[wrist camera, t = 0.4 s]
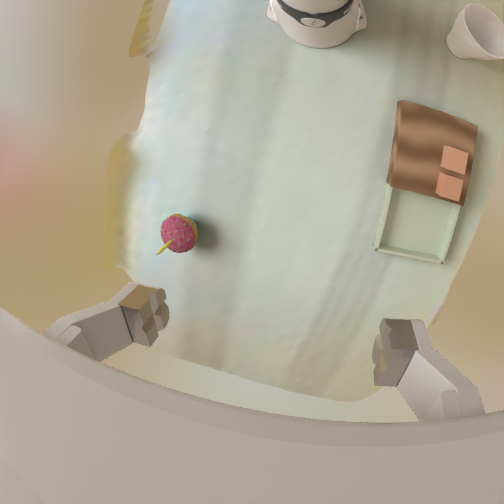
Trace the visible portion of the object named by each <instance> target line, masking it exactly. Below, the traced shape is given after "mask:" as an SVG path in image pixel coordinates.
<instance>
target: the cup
mask: <svg viewBox="0 0 504 504" xmlns="http://www.w3.org/2000/svg"><path fill="white" fill-rule="evenodd" d="M446 43H447V46H448V48H449V50H450V51H451V52H452V53H453V54H454V55H455V56H457V57H458V58H461V59H467V58H477V59H484V60H499V59H504V24H503V22H502V21H501V20H500V19H499V17H498V16H497V15H496V14H495V13H493V12H492V11H491V10H490V9H488V8H487V7H485V6H483V5H480V4H476V3H470V4H468V5H466V6H465V7H464V8H463V9H462V10H461V11H460V13H459V15H458V17H457V19H456V20H455V22H454V25H453V28H452V30H451V31H450V33H449V34H448V35H447V37H446Z"/></svg>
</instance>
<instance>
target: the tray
mask: <svg viewBox="0 0 504 504" xmlns="http://www.w3.org/2000/svg"><path fill="white" fill-rule="evenodd" d="M460 207H461V205H458V204H455V203H451V202H448V201H444V200H441V199H437V198H434V197H430V196H426V195H422V194H418V193H414V192H410V191H406V190H402V189H398V188H394V187H391V186H390V185H389V184H387V183H386V188H385V193H384V198H383V203H382V207H381V212H380V217H379V221H378V225H377V229H376V234H375V238H374V242H373V247H374V250H375V251H379V252H384V253H389V254H395V255H400V256H405V257H410V258H415V259H420V260H425V261H430V262H435V263H439V264H443V263H444V260H445V257H446V254H447V251H448V248H449V245H450V242H451V239H452V236H453V232H454V229H455V226H456V222H457V218H458V215H459V211H460Z"/></svg>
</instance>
